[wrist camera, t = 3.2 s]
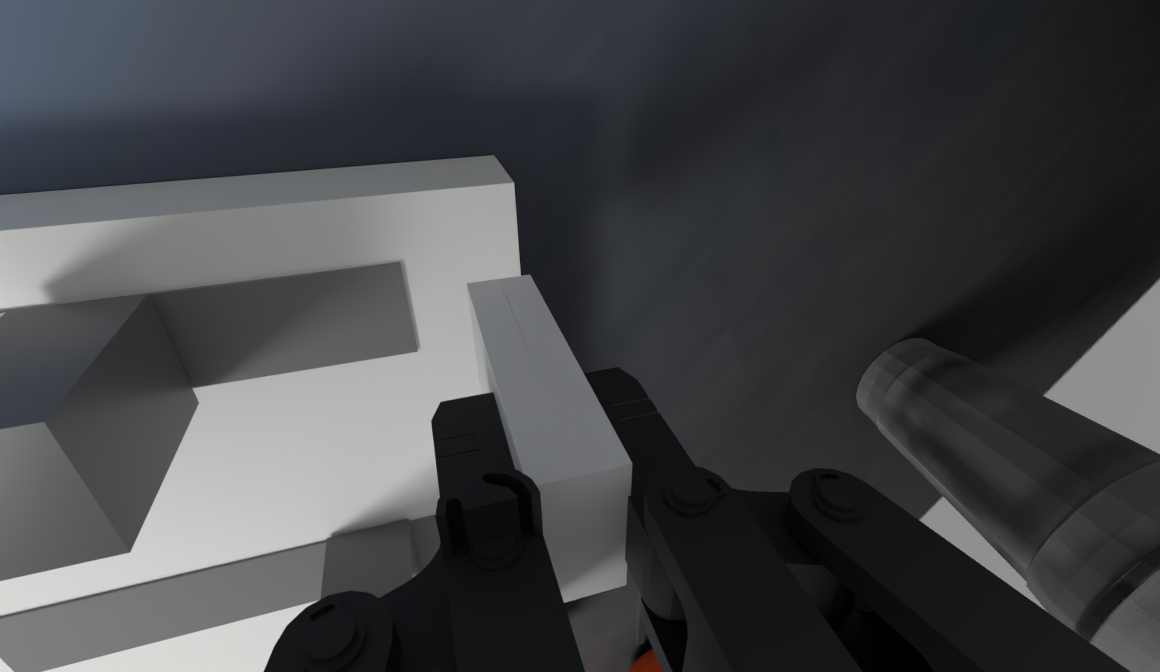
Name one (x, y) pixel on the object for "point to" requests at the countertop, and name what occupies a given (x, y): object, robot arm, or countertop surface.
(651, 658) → the clementine
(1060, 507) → the beverage cup
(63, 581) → the breaker panel
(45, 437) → the handle
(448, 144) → the countertop surface
